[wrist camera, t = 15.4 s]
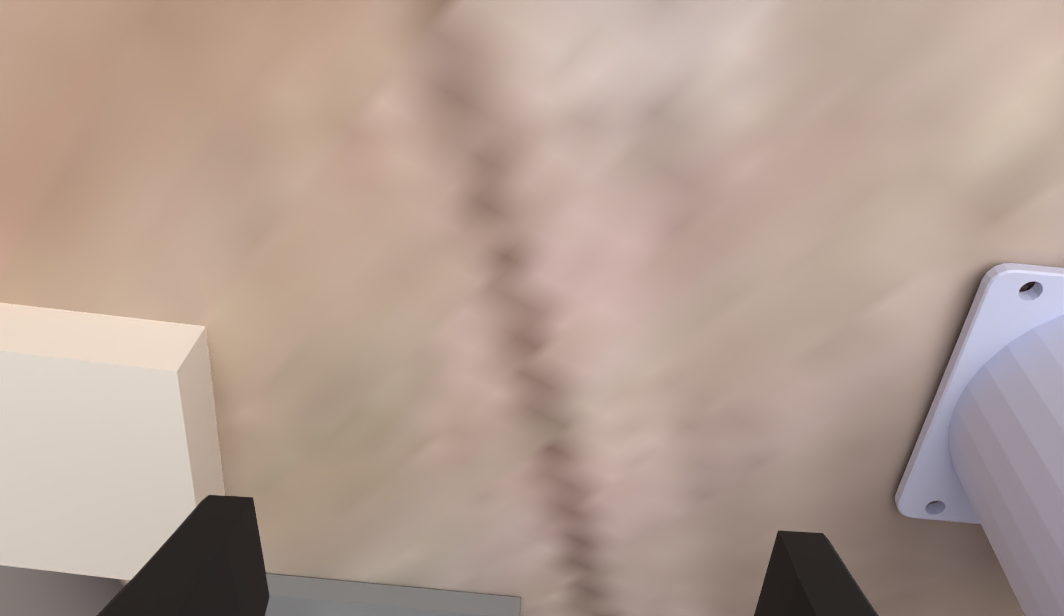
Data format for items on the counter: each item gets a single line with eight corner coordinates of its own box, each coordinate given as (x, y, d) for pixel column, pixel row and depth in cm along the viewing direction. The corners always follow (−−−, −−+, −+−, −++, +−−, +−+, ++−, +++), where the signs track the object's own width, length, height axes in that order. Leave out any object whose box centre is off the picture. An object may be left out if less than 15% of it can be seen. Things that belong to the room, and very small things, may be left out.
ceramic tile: (176, 371, 22) (-173, 330, 22) (208, 589, 26) (-84, 555, 26) (210, 318, 24) (-111, 280, 24) (234, 530, 28) (-38, 498, 28)
